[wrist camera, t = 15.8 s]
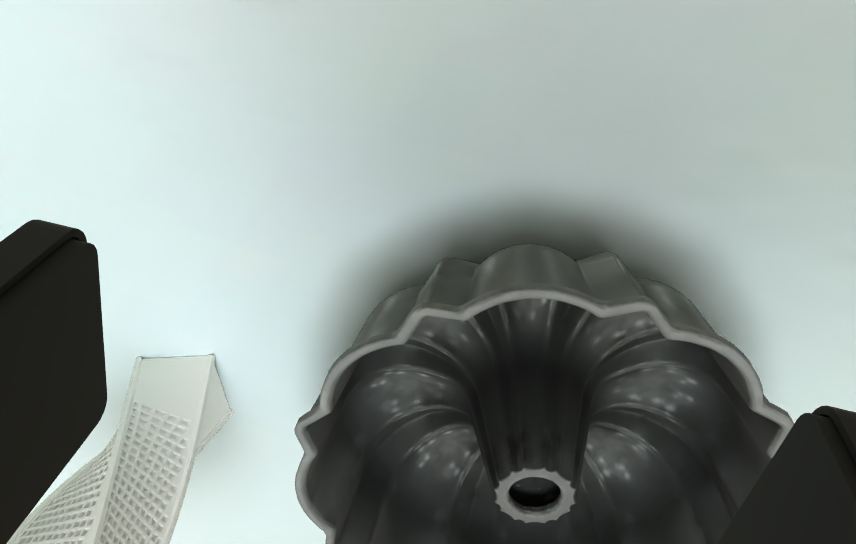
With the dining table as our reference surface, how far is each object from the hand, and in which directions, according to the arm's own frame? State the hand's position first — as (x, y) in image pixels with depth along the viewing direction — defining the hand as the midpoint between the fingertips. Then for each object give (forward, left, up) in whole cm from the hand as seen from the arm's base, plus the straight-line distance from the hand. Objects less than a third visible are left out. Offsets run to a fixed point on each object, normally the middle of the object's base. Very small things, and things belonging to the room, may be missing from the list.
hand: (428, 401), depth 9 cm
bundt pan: (-8, +22, -30) cm, 38 cm away
